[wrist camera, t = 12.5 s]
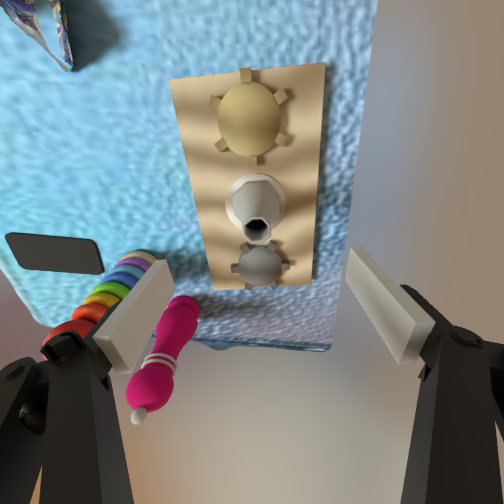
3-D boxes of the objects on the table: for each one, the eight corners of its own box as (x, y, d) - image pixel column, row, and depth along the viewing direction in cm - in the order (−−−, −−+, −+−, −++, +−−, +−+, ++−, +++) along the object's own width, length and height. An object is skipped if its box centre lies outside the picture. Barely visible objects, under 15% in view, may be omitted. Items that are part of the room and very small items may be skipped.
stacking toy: (164, 251, 36) (88, 343, 20) (167, 287, 40) (105, 388, 24) (118, 246, 36) (2, 335, 19) (126, 282, 40) (34, 382, 23)
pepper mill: (189, 288, 40) (138, 403, 23) (208, 313, 43) (177, 430, 26) (160, 300, 42) (91, 416, 24) (180, 323, 45) (132, 441, 27)
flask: (287, 217, 31) (299, 247, 22) (243, 234, 33) (239, 268, 24) (270, 170, 28) (277, 183, 19) (223, 191, 29) (209, 212, 21)
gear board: (173, 83, 25) (164, 76, 23) (321, 66, 24) (329, 58, 22) (215, 285, 40) (212, 294, 37) (308, 279, 39) (312, 288, 36)
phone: (103, 275, 39) (21, 269, 38) (106, 273, 39) (25, 267, 39) (93, 240, 35) (1, 232, 34) (96, 238, 36) (6, 230, 35)
